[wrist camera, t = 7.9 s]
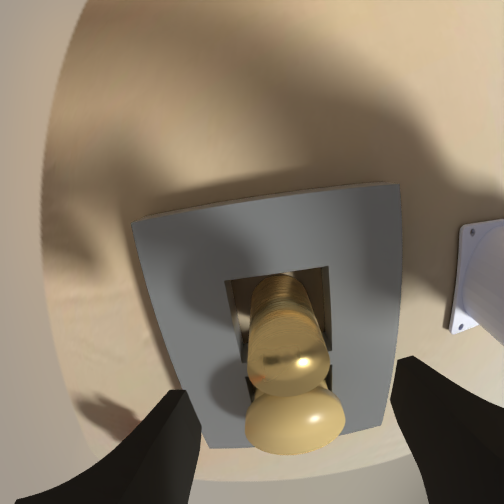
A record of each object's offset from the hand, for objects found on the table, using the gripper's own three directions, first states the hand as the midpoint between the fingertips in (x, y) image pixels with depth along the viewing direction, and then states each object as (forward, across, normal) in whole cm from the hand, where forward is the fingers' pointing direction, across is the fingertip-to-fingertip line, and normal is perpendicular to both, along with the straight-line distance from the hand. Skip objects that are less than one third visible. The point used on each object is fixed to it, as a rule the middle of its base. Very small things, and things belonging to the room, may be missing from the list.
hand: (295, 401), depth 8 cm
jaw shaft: (+8, 0, 0) cm, 8 cm away
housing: (+8, 0, +2) cm, 8 cm away
